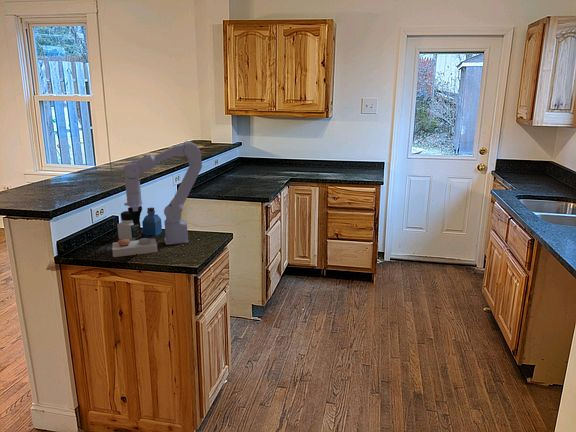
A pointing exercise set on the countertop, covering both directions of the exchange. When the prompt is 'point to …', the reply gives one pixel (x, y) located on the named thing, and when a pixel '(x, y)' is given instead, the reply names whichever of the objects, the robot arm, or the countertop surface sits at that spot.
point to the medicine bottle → (128, 227)
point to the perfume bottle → (152, 223)
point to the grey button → (144, 241)
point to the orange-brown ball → (124, 242)
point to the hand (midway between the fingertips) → (136, 224)
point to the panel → (134, 248)
